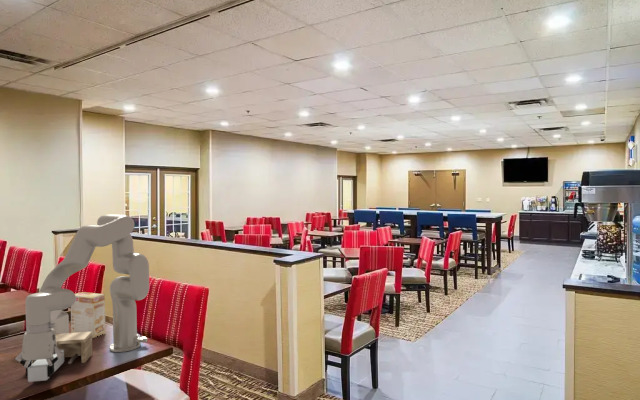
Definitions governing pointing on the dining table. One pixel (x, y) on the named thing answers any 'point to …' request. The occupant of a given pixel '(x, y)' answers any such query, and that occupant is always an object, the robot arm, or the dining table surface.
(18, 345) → the dining table surface
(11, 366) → the dining table surface
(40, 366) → the white rectangular block
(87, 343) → the beige wooden bench
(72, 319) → the coffeecake box
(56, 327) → the milk carton
